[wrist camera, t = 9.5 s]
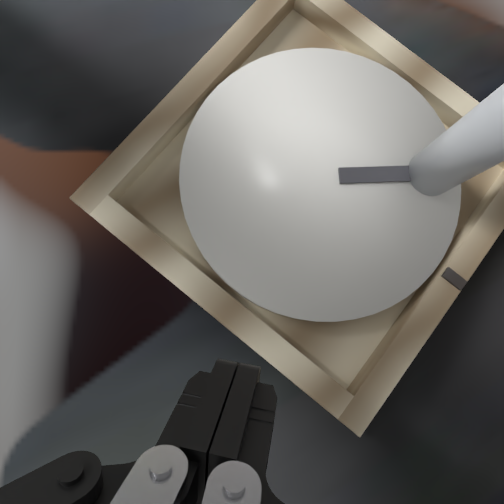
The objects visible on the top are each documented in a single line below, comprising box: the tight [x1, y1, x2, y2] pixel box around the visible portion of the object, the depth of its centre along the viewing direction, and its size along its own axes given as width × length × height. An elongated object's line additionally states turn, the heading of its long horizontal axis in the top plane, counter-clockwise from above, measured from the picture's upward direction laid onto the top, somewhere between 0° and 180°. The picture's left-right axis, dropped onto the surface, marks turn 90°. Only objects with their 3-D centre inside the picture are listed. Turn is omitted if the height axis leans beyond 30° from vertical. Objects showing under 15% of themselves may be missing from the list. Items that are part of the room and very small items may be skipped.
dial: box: [179, 48, 504, 322], centre depth 19 cm, size 18×18×10 cm
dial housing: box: [70, 0, 504, 437], centre depth 24 cm, size 22×22×3 cm
